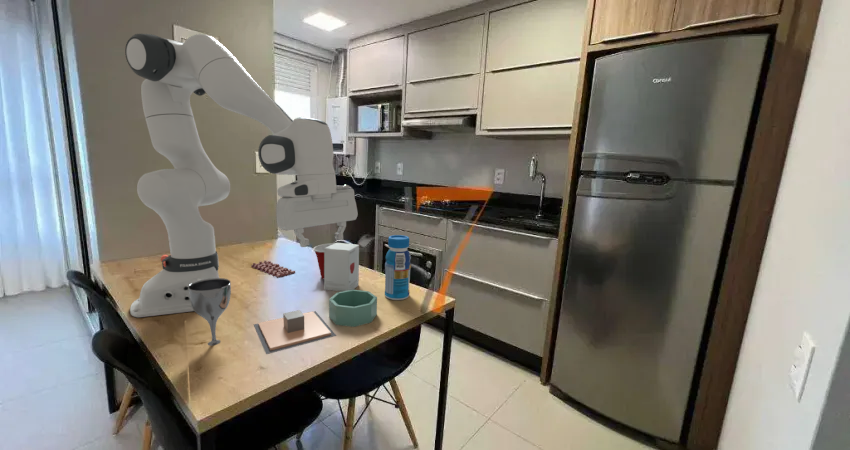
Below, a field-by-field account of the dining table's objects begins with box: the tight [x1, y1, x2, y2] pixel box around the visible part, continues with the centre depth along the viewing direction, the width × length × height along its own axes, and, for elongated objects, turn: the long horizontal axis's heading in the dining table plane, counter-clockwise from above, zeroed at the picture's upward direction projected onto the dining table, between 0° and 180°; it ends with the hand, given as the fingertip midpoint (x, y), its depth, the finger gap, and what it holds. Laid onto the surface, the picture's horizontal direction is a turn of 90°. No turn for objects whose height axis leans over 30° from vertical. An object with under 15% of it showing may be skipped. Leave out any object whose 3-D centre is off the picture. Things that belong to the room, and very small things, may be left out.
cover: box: [257, 309, 331, 351], centre depth 85 cm, size 14×14×4 cm
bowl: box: [328, 289, 378, 328], centre depth 95 cm, size 12×12×6 cm
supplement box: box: [323, 242, 360, 292], centre depth 116 cm, size 9×9×15 cm
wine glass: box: [188, 277, 232, 347], centre depth 77 cm, size 8×8×15 cm
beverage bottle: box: [384, 234, 412, 301], centre depth 111 cm, size 8×8×20 cm
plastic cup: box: [312, 242, 336, 280], centre depth 126 cm, size 11×11×12 cm
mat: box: [253, 310, 337, 355], centre depth 86 cm, size 16×16×1 cm
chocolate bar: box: [251, 260, 296, 278], centre depth 132 cm, size 7×19×2 cm, turn 55°
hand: (322, 242), depth 84 cm, fingers open, 8 cm apart
